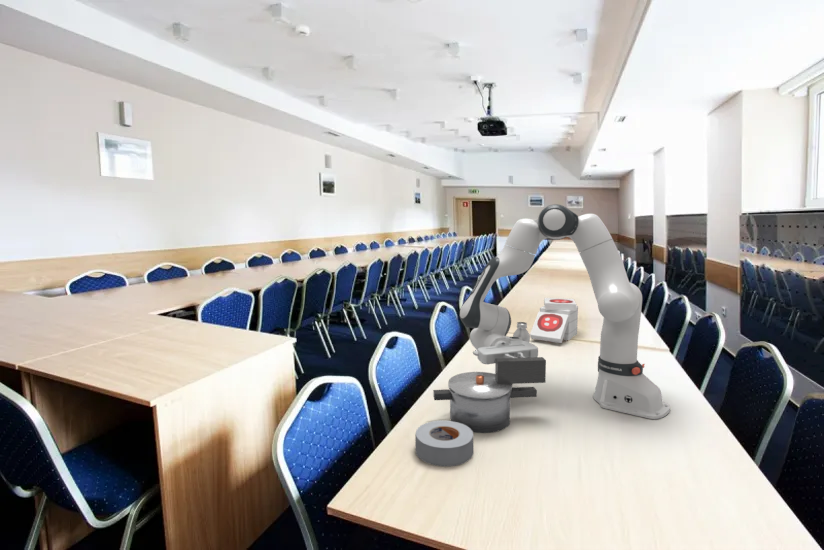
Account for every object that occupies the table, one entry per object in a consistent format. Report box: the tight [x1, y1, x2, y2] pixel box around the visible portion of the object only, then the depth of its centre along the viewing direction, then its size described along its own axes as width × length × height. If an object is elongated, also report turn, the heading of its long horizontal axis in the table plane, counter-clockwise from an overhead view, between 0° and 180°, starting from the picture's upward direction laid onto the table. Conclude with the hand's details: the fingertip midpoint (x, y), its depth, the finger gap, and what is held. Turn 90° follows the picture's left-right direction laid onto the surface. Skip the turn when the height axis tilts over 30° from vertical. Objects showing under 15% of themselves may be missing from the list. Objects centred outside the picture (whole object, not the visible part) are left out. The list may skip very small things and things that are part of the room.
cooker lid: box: [448, 356, 547, 400], centre depth 131 cm, size 29×19×8 cm, turn 92°
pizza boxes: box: [529, 297, 579, 344], centre depth 219 cm, size 19×30×18 cm, turn 144°
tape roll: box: [414, 419, 474, 467], centre depth 115 cm, size 15×15×5 cm
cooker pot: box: [432, 386, 538, 434], centre depth 132 cm, size 31×18×10 cm, turn 92°
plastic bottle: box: [512, 321, 531, 343], centre depth 170 cm, size 6×7×20 cm
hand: (520, 360), depth 135 cm, fingers closed
